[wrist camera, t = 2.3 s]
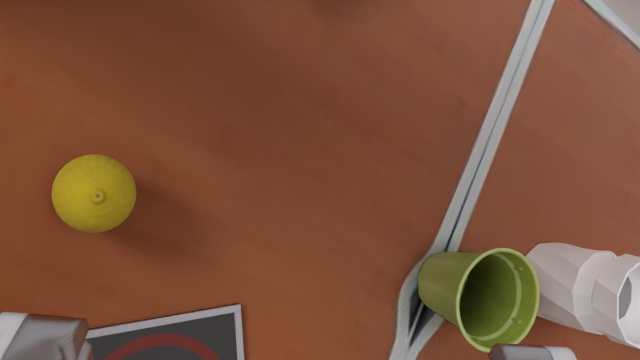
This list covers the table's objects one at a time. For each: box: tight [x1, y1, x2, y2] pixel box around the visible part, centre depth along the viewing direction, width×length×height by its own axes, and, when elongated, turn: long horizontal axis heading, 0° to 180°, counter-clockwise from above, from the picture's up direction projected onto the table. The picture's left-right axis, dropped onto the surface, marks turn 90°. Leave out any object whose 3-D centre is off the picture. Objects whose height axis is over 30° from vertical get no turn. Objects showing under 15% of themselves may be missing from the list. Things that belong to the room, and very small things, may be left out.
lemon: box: [51, 154, 136, 233], centre depth 39 cm, size 6×6×8 cm
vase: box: [525, 243, 640, 349], centre depth 57 cm, size 9×9×12 cm
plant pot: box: [418, 248, 540, 353], centre depth 52 cm, size 9×9×9 cm
